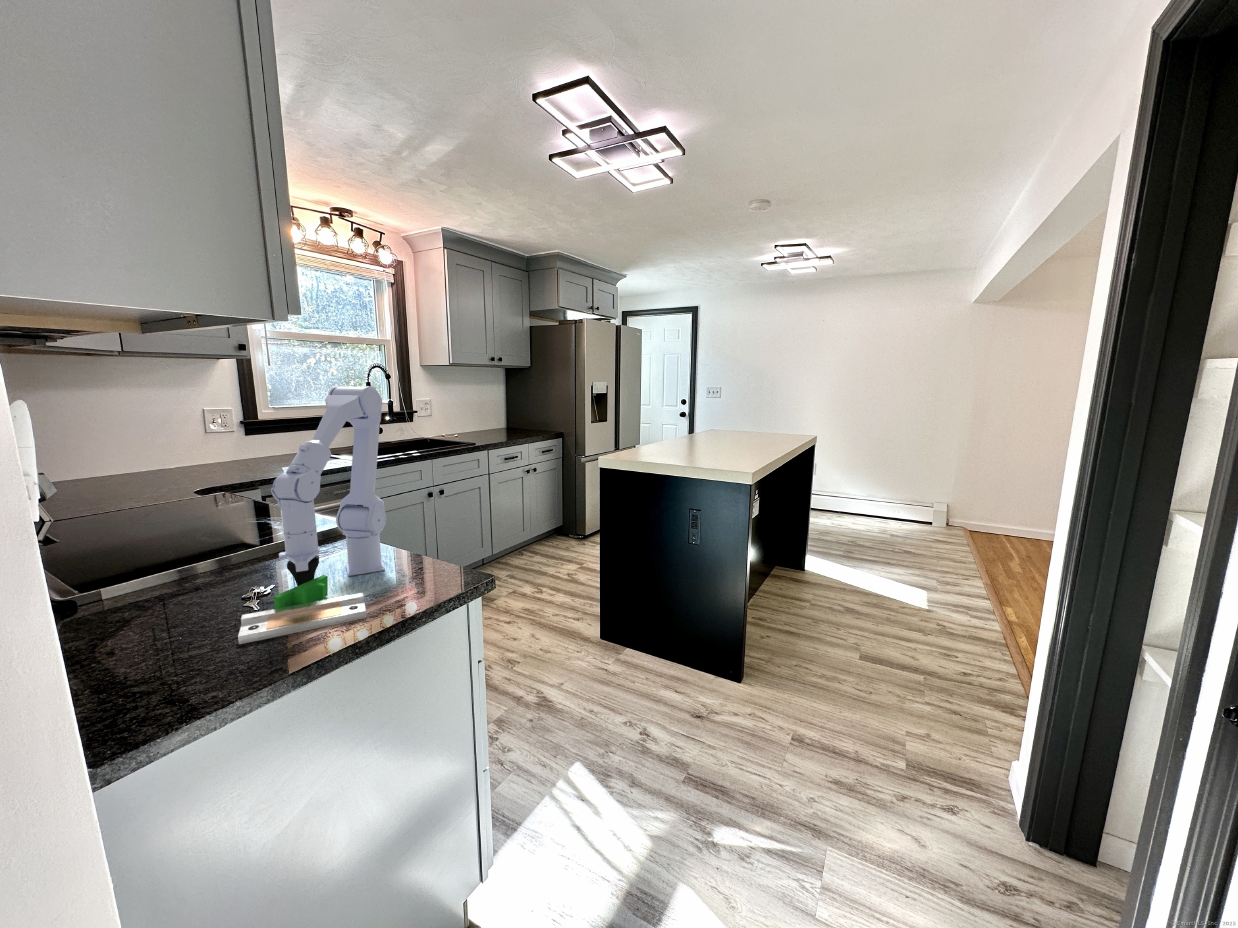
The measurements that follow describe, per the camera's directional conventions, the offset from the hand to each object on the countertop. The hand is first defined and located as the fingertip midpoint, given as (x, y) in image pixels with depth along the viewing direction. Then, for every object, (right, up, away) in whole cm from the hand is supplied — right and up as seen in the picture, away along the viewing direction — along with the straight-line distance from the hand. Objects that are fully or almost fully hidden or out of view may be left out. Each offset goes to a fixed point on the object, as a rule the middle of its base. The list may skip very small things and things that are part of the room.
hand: (306, 592), depth 105 cm
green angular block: (+2, -2, -4) cm, 5 cm away
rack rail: (+6, -3, -10) cm, 12 cm away
